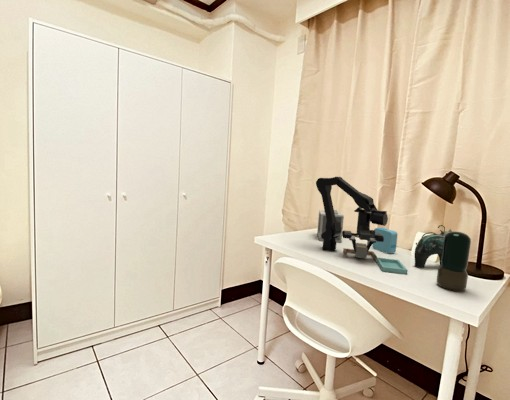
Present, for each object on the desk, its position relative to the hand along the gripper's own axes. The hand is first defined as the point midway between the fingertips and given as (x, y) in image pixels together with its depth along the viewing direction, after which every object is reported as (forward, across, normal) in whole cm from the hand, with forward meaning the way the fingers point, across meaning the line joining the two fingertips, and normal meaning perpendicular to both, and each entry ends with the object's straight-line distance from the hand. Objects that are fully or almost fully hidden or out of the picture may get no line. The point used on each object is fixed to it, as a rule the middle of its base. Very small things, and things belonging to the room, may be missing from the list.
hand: (360, 252), depth 141 cm
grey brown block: (+1, 0, 0) cm, 1 cm away
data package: (+3, +15, +19) cm, 25 cm away
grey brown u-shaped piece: (+3, 0, +4) cm, 4 cm away
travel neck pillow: (+3, +33, -1) cm, 33 cm away
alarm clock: (+3, -14, +36) cm, 38 cm away
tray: (+3, +12, -10) cm, 15 cm away
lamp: (+3, +30, -26) cm, 39 cm away
